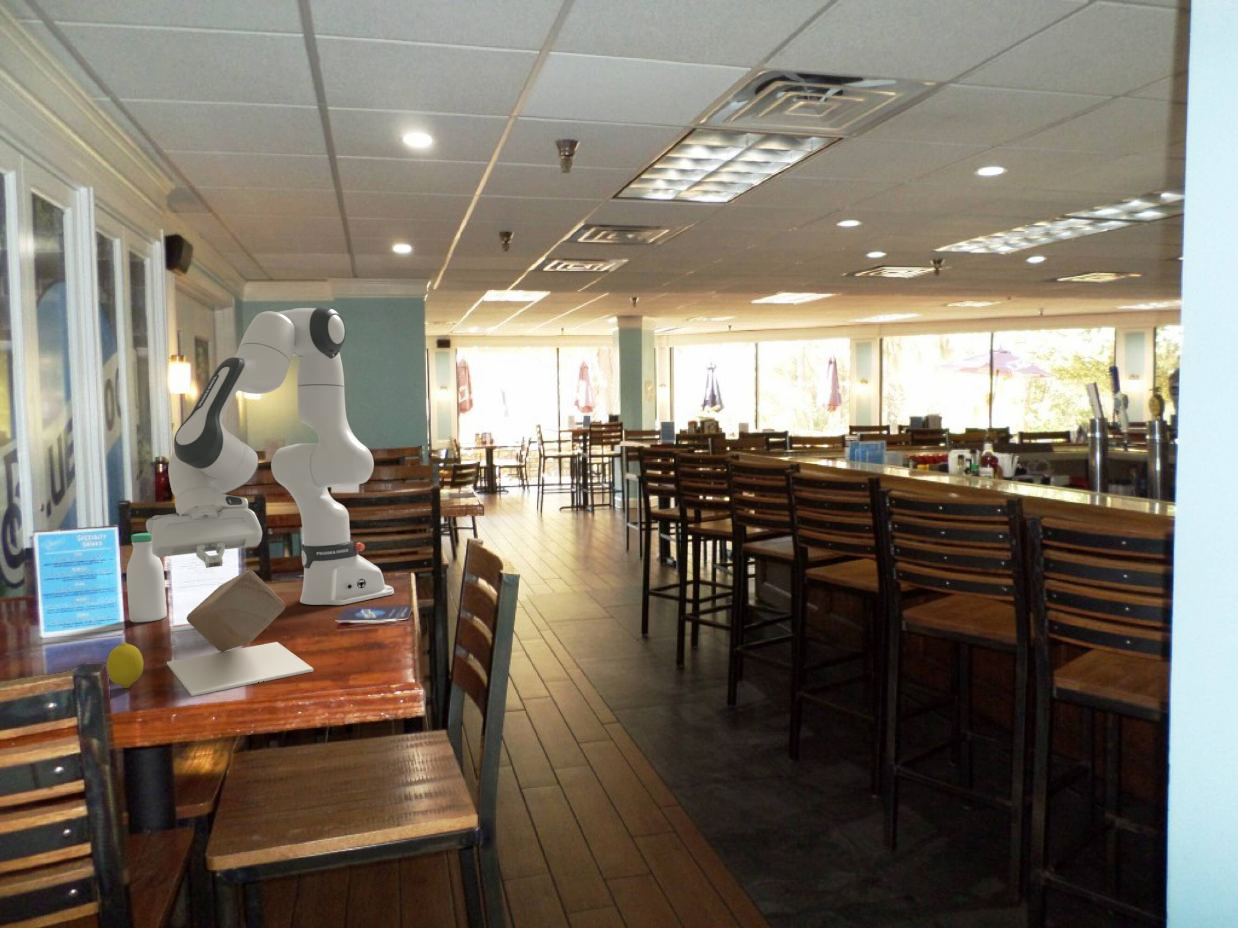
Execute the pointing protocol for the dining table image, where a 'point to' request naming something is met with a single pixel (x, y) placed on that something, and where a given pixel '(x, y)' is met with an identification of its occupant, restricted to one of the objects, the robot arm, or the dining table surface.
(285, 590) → the dining table surface
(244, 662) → the board
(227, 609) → the wooden block
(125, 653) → the lemon
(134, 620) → the milk bottle
